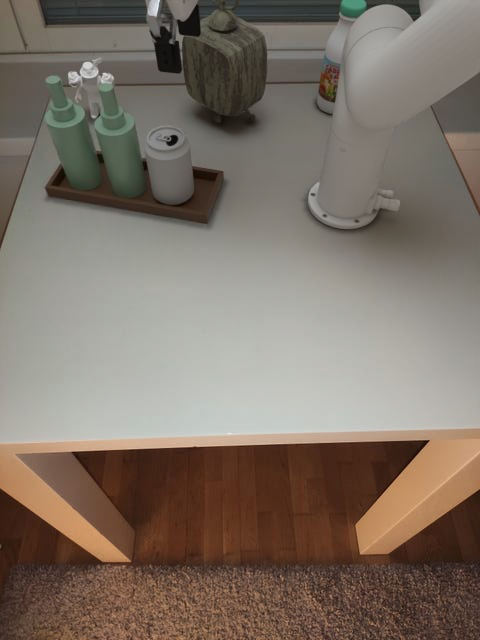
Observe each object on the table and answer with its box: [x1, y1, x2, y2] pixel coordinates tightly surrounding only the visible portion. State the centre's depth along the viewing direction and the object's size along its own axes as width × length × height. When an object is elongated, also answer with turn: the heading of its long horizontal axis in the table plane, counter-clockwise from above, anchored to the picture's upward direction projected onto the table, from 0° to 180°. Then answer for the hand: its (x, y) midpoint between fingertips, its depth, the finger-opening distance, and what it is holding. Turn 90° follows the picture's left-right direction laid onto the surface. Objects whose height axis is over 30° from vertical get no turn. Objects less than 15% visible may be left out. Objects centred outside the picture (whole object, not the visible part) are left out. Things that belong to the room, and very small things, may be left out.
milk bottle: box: [316, 0, 367, 115], centre depth 93 cm, size 8×8×20 cm
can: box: [143, 124, 194, 205], centre depth 81 cm, size 8×8×12 cm
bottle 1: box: [44, 74, 103, 191], centre depth 80 cm, size 6×6×19 cm
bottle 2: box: [93, 83, 147, 198], centre depth 79 cm, size 6×6×19 cm
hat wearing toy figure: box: [67, 56, 115, 119], centre depth 94 cm, size 9×4×12 cm, turn 87°
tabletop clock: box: [181, 0, 268, 124], centre depth 89 cm, size 14×9×25 cm, turn 49°
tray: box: [44, 150, 225, 225], centre depth 86 cm, size 30×12×3 cm, turn 77°
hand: (180, 52), depth 66 cm, fingers open, 9 cm apart
